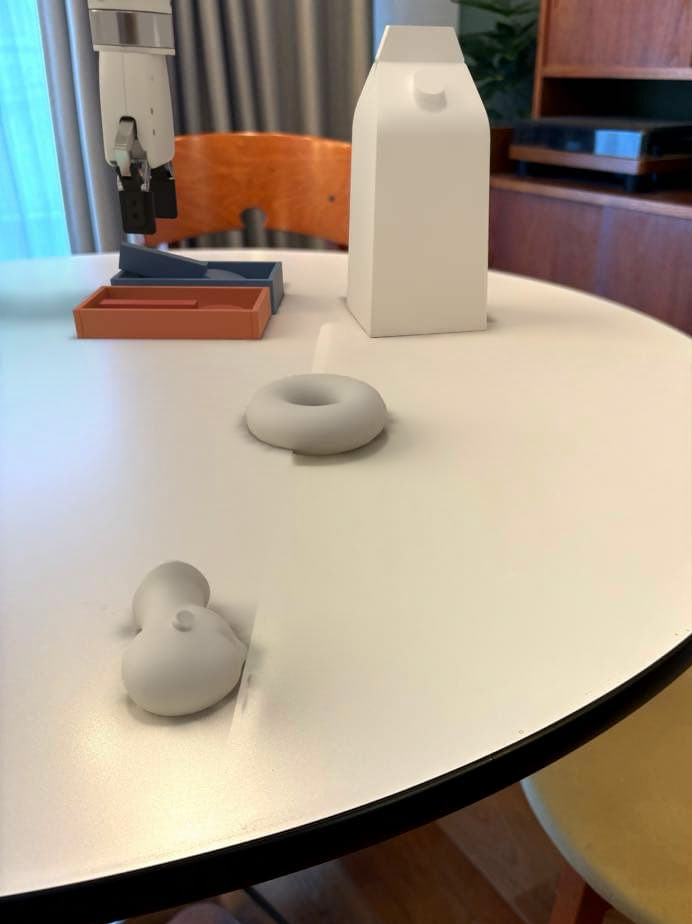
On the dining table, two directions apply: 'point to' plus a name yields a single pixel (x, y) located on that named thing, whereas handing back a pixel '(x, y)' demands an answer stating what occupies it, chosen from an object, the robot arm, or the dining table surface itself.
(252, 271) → the tray blue
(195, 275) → the blue spoon
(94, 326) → the tray red
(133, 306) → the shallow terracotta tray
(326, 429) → the donut
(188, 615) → the pale two-lobed sculpture
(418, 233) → the milk
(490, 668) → the dining table surface
